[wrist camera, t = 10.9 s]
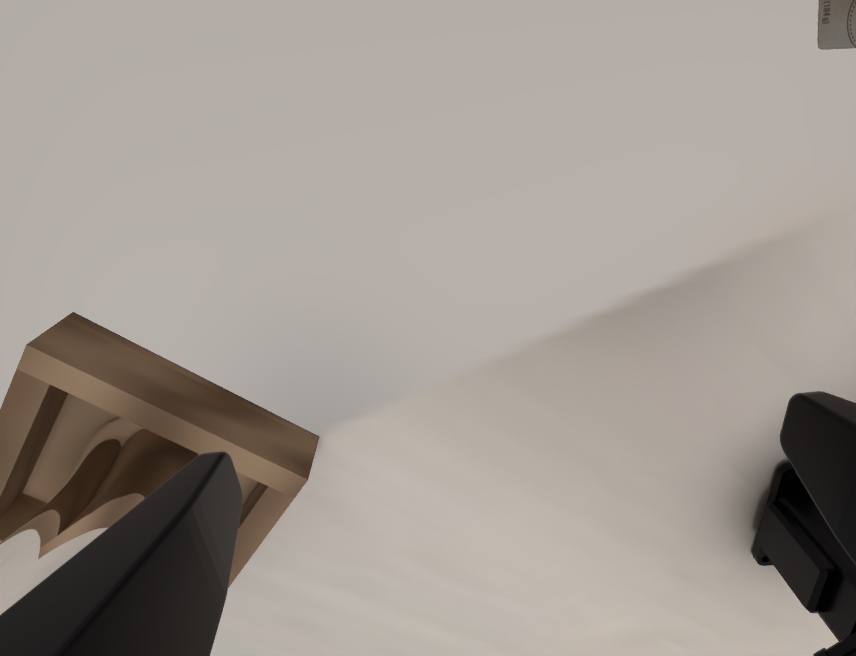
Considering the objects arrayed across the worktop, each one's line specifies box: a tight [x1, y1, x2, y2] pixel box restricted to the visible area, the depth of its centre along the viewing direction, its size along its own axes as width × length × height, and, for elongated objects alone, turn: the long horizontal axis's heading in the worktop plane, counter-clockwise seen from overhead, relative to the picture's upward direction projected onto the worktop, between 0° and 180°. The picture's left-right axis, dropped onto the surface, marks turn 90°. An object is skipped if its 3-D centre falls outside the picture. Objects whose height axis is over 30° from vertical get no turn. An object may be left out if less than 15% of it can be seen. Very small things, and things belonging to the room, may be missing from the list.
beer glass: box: [0, 417, 200, 615], centre depth 18 cm, size 7×7×15 cm
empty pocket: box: [0, 312, 319, 588], centre depth 24 cm, size 11×11×3 cm
